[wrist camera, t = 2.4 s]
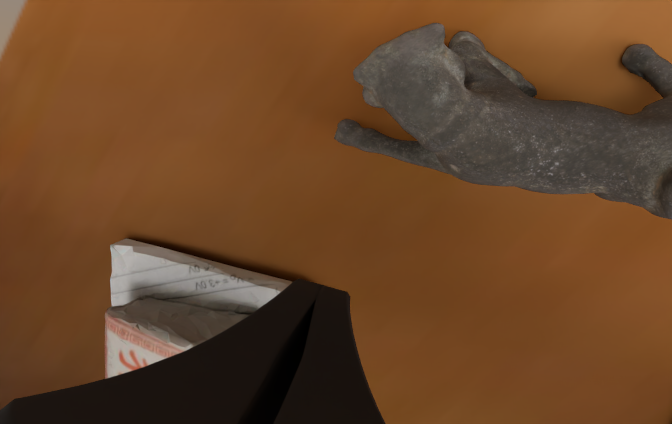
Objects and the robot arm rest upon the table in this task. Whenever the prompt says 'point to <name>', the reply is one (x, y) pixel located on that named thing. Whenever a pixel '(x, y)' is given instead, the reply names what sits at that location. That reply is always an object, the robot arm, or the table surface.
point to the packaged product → (173, 303)
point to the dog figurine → (514, 122)
